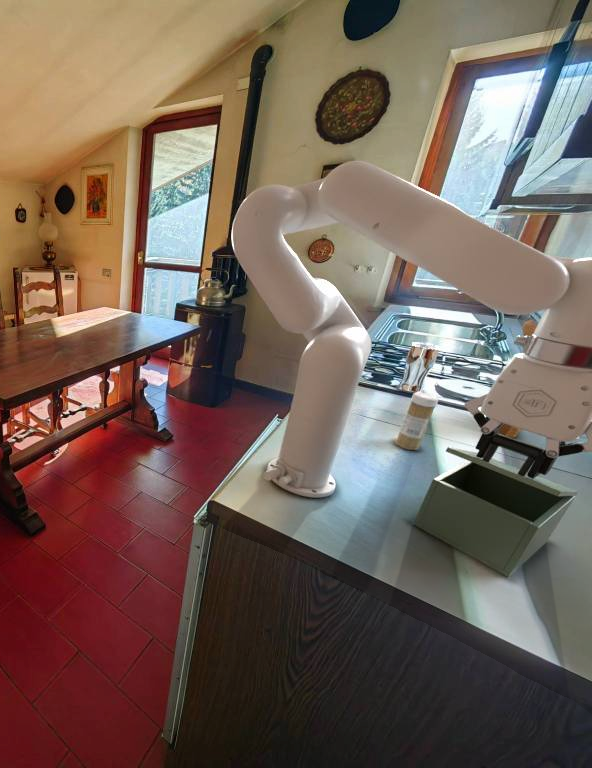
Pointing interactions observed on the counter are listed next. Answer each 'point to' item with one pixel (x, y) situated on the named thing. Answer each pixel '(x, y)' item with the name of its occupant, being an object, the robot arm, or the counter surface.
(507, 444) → the lid
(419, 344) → the beer glass
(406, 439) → the sprinkles bottle
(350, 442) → the counter surface
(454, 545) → the green box
